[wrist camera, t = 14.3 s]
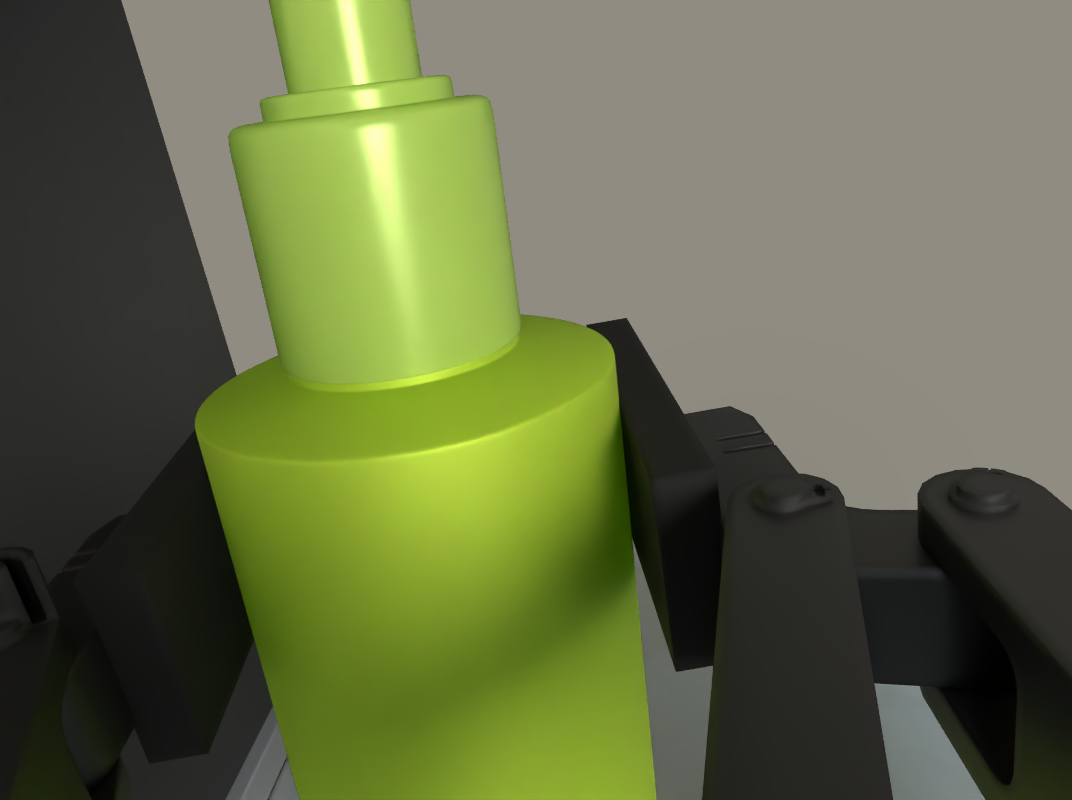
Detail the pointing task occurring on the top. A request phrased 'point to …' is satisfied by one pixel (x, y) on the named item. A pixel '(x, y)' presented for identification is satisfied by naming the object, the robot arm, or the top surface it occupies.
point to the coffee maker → (104, 331)
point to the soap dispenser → (420, 452)
